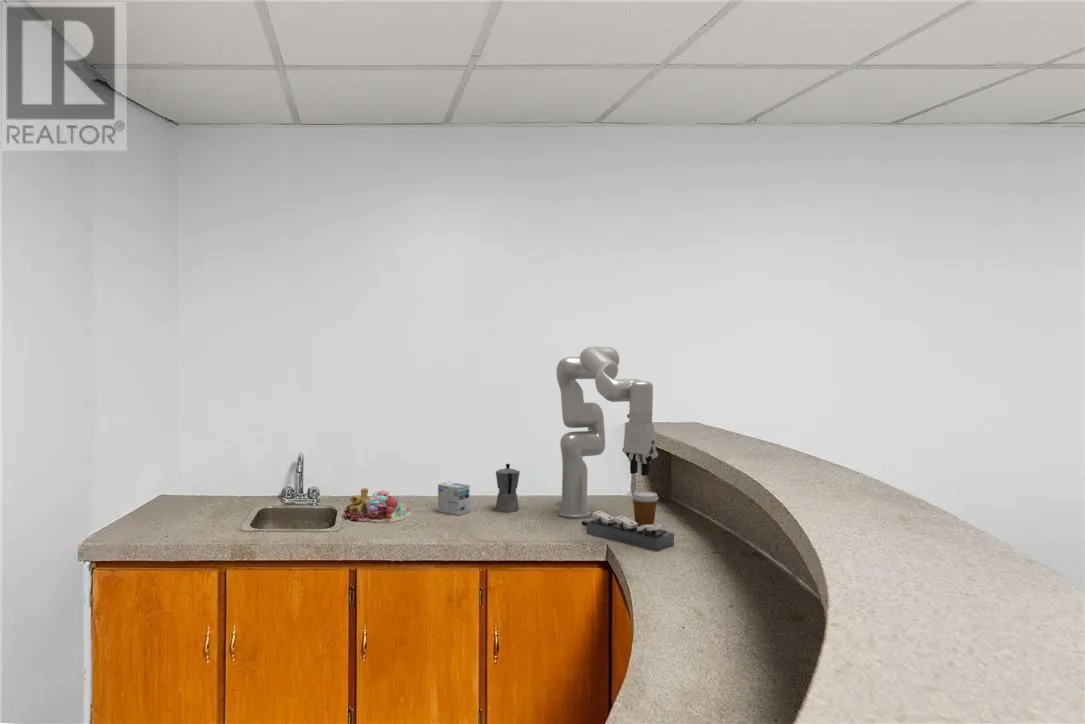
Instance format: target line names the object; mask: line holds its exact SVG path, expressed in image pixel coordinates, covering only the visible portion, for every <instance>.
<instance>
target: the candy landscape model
mask: <svg viewBox="0 0 1085 724" xmlns="http://www.w3.org/2000/svg"><path fill="white" fill-rule="evenodd" d="M368 493H369V489H368V488H366V487H363V488H361V489H360V495H359V494H358V495H353V496H352V497H350V498H349V501H350V502H351V503H350V504H348V505H347V507H346V508H345V510H344V511H343V514H342V516H343V517H344V519H348V518H350V519H349V521H359V522H369V523H373V524H391V523H398V522H402V521H404V520H406V519H408V518H411V516H412V512H411V511H410V507H407V508H406V507H405V505H404V504H403V503H402V502H398V499H397V498H396V497H394V496H392V495H390V492H389V491H386V489H382V490H378V491H375V492H373V494H372V496H369V497H368Z"/></svg>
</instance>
